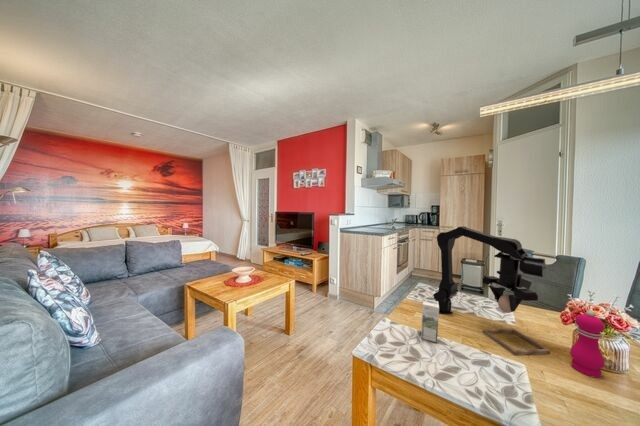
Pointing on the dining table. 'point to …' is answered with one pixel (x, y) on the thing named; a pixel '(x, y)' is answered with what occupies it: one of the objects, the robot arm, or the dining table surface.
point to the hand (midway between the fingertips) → (506, 307)
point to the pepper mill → (588, 345)
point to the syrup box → (430, 320)
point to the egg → (504, 303)
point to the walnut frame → (519, 352)
